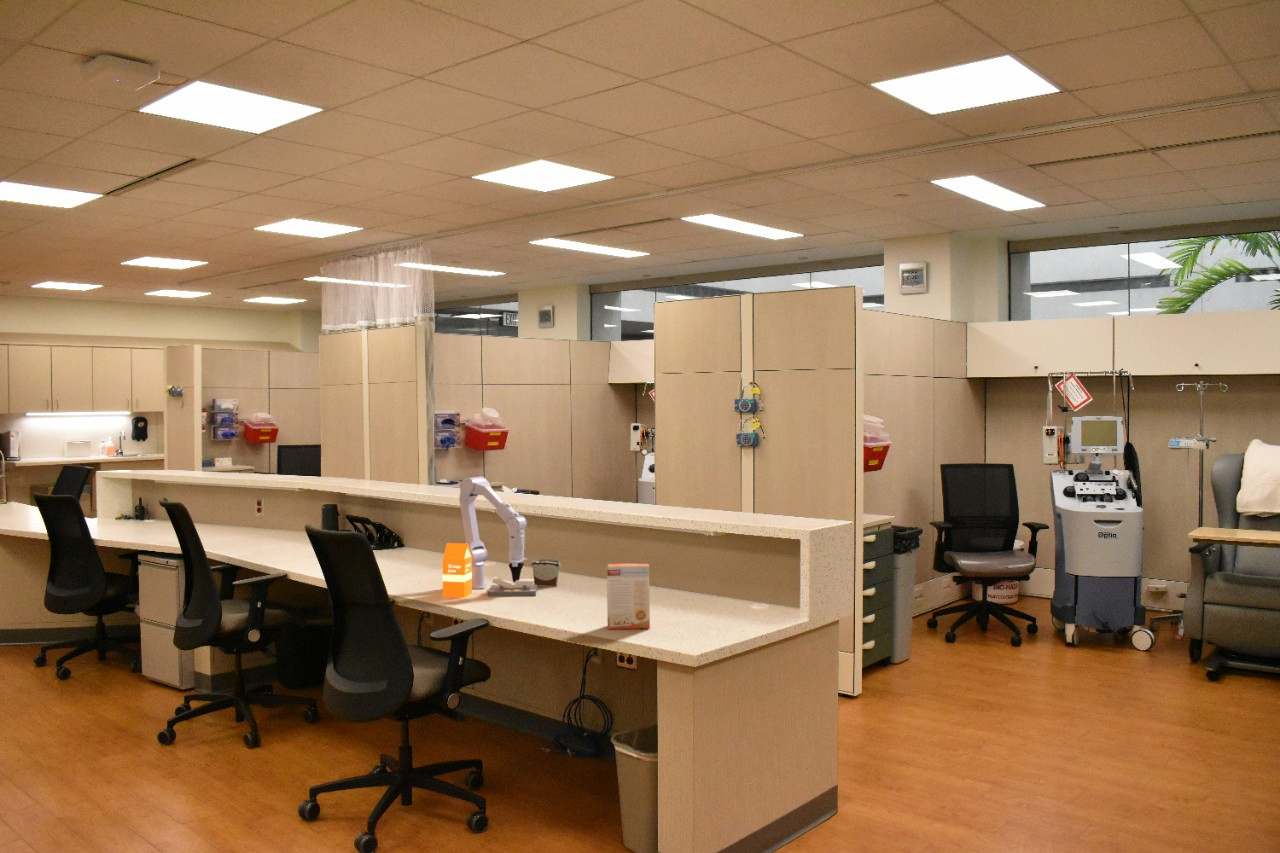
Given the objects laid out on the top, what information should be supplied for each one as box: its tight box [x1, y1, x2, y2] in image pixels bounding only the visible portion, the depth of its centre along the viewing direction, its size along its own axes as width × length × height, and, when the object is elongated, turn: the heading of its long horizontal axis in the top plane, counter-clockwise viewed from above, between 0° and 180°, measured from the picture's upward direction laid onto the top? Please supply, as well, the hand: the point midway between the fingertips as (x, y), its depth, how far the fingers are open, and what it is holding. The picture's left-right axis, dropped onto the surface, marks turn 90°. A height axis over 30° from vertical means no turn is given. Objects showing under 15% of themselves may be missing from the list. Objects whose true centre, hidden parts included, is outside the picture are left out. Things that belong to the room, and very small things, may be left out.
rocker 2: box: [514, 578, 534, 585], centre depth 373 cm, size 7×5×2 cm
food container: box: [530, 558, 561, 587], centre depth 388 cm, size 12×6×10 cm, turn 76°
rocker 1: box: [492, 576, 513, 589], centre depth 372 cm, size 7×5×2 cm
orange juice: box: [442, 542, 473, 599], centre depth 367 cm, size 8×9×20 cm
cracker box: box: [606, 563, 651, 630], centre depth 316 cm, size 14×6×21 cm, turn 92°
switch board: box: [487, 584, 538, 597], centre depth 373 cm, size 18×14×3 cm
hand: (516, 582), depth 372 cm, fingers closed, pressing on rocker 2
